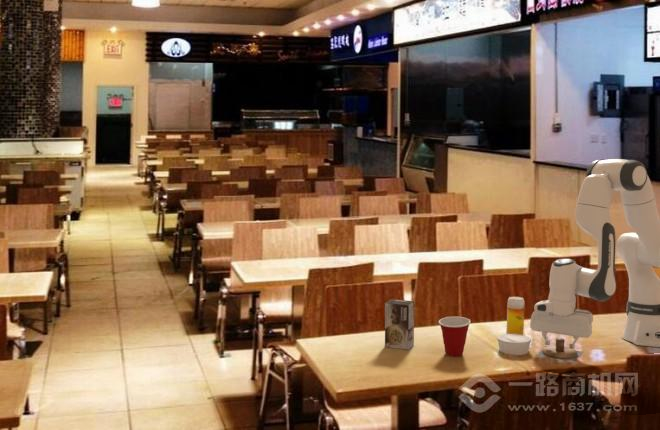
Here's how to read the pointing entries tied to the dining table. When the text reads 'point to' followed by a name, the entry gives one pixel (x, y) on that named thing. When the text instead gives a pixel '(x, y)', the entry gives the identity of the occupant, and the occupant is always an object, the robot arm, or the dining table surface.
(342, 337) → the dining table surface
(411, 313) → the coffee box
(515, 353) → the ramekin
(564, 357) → the lid
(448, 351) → the plastic cup
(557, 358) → the mat
